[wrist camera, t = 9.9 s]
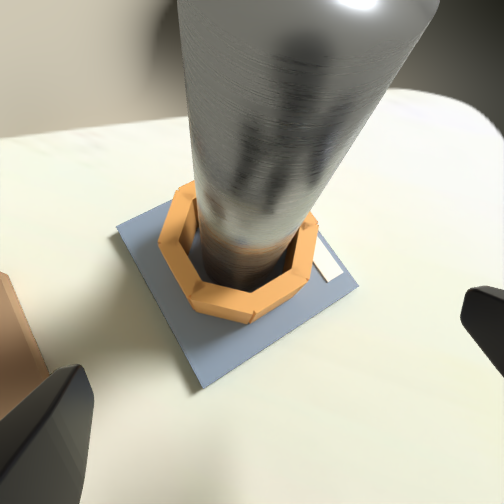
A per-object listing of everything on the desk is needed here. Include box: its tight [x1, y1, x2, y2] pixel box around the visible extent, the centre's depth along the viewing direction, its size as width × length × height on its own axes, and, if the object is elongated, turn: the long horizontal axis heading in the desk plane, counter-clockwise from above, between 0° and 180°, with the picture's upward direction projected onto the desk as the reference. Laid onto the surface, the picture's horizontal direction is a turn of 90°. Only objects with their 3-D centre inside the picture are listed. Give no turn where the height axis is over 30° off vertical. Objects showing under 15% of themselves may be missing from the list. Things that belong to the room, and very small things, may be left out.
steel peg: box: [177, 0, 440, 291], centre depth 10 cm, size 4×4×13 cm
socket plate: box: [116, 180, 359, 389], centre depth 15 cm, size 9×9×4 cm
